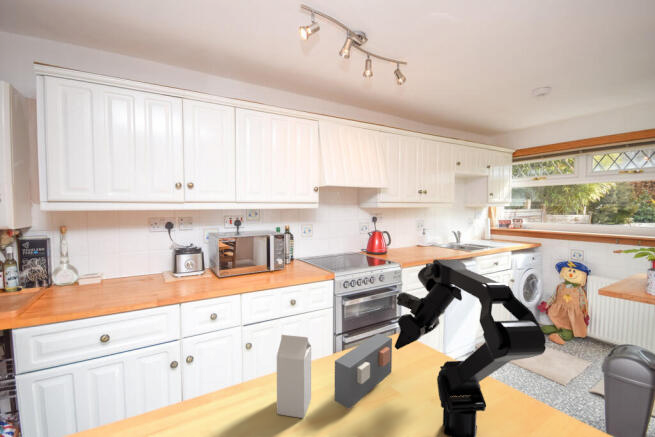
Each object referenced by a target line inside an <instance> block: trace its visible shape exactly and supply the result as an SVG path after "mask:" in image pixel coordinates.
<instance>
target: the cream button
mask: <svg viewBox="0 0 655 437" xmlns="http://www.w3.org/2000/svg"><path fill="white" fill-rule="evenodd" d="M369 378H370V363H368V362H366V361H365V362H363V363H362V364H361V365H359V366H358V367H357V382H358V383H360V384H363V383H364V382H365V381H366V380H368V379H369Z"/></svg>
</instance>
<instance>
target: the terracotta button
mask: <svg viewBox="0 0 655 437" xmlns="http://www.w3.org/2000/svg"><path fill="white" fill-rule="evenodd" d="M388 362H390V348H388V347H384V348H383V349H381V350H380V351H379V365H380V366H382V367H383V366H385V365H386V364H387V363H388Z"/></svg>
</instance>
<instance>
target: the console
mask: <svg viewBox="0 0 655 437" xmlns="http://www.w3.org/2000/svg"><path fill="white" fill-rule="evenodd" d="M384 347H388V348H390V362H388V363H387V364H386V365H385V366H383V367H382V366H380V365H379V351H380V350H381V349H383V348H384ZM392 353H393V337H391V336H386V335H384V334H381V333H379V332H378V333H376V334H375V335H374V336H373V335H372V336H371V337H370V338H368V339H367V340H365V341H364V342H362V343H361V344H359V345H357V346H355V348H352V349H351V350H349V351H348V352H347V353H345V354H343V355H342V356H340V357H338V358H337V359H335V360H334V401H335V402H337V403H338V404H340V405H342V406H344V408H346V409H348V410H350V409H351V408H352V407H354V406H355V405H356V404H357V403H359V401H361V400H362V399H363V398H364V397H365V396H366V395H367V394H369V392H371V391H372V390H374V388H376V386H377V385H379V384H380V383H381V382H382V381H383V380H384V379H385V378H387V377H388V376H389V375H391V374H392V366H393V365H392V364H393V363H392V362H393V360H392V356H393V354H392ZM365 361H366V362H368V363H370V378H369V379H368V380H366V381H365V382H364V383H363V384H360V383H358V382H357V367H358V366H359V365H361V364H362V363H363V362H365Z"/></svg>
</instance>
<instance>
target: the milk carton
mask: <svg viewBox="0 0 655 437" xmlns="http://www.w3.org/2000/svg"><path fill="white" fill-rule="evenodd" d="M280 338H281V339H280V342H279V346H278V350H277V353H276V414H277V415H282V416H288V417H295V418H300V419H304V418H305V416H306V414H307V411H308V408H309V405H310V403H311V402H312V401H311V400H312V345H311V343H310V342H309V337H308V336H301V335H290V334H281V336H280Z"/></svg>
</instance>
